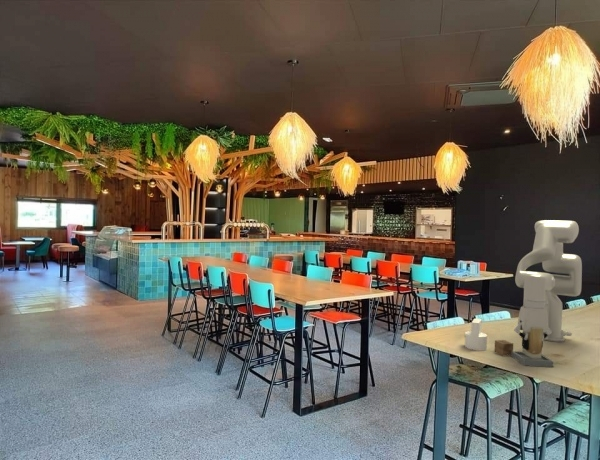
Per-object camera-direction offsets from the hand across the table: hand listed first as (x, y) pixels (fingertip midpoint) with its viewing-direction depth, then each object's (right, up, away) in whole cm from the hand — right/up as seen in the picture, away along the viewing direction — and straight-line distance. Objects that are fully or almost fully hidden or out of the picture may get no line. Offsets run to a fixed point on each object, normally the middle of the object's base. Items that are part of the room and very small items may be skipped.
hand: (532, 348), depth 162 cm
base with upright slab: (-16, -5, +17) cm, 23 cm away
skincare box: (0, -3, 0) cm, 3 cm away
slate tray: (0, -5, 0) cm, 5 cm away
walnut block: (-7, -5, +9) cm, 12 cm away
